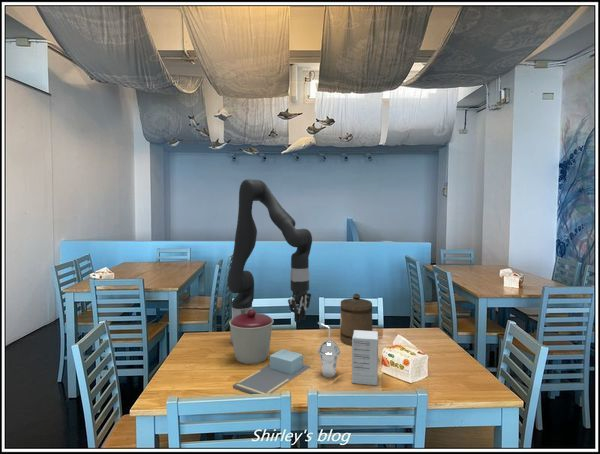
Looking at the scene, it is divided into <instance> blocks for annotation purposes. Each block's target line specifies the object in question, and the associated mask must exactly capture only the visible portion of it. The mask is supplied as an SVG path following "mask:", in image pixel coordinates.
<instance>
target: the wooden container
mask: <svg viewBox="0 0 600 454" xmlns="http://www.w3.org/2000/svg"><path fill="white" fill-rule="evenodd" d="M339 320H340V323H339V329H340V331H339V332H340V333H339V335H340V337H339V338H340V339H339V340H340V341H341V343H343V344H345V345H349V346H352V337H353V334H354V330H361V331H373V302H372V301H371V300H368V299H364V298H361V294H359V293H354V294H353V295H352V298H345V299H342V300H340V319H339Z"/></svg>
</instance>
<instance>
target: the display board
mask: <svg viewBox="0 0 600 454" xmlns="http://www.w3.org/2000/svg"><path fill="white" fill-rule="evenodd" d="M311 367H312V366H310V365H307V364H303V367H302V368H301V369H299V370H298V371H296V372H294V373H293V374H287V373H284V372H281V371H277V370H274V369H271V368H270V363H269V364H267V365H265V366H264V367H262V368H260V369H259V370H256V371H255V372H253V373H251V374H250V375H248V376H246V377H245V378H243V379H241V380H239V381H237V382H235V383H234V384H232V388H233V389H235V390H237V391H241V392H243V393H247V394H249V395H252V394H264V393H271V394H273V393H274V392H276V391H277V390H279V389H280V388H282V387H283V386H285V385H286V384H288V383H289V382H291V381H292V380H294V379H295V378H296V377H298V376H299V375H301V374H302V373H304V372H305V371H308V369H310V368H311Z"/></svg>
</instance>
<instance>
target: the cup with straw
mask: <svg viewBox="0 0 600 454" xmlns="http://www.w3.org/2000/svg"><path fill="white" fill-rule="evenodd" d="M317 324H318V325H320V326H322V327H325V328H326V329H328V339H327V340H324V341H323V342H322V343H321V345H320V346H319V347H318V349H317V354H319V357H320V363H321V365H320V366H321V372H322V373H321V374H322V376H323V377H325V378H333V377H335V376H336V371H337V366H338V365H337V363H338V360H339V355H340V354H341V349H340V348H339V346H338V344H337V343H336V342H335V341H333V340H331V327H330V326H329V325H326V324H324V323H322V322H320V321H318V322H317Z"/></svg>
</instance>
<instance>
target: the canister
mask: <svg viewBox="0 0 600 454" xmlns="http://www.w3.org/2000/svg"><path fill="white" fill-rule="evenodd" d="M228 324H229V326H231V331H232V338H233V344H232V346H233V352H234V355H235V359H236V361H237V362H239V363H241V364H245V365H253V364H254V365H255V364H260V363H263V362H265V361H266V360H267V359H268V357H269V356H270V355H269V353H270V347H271V337H272V331H273V330H272V328H273V327H272V326H273V324H274V319H273V318H272V317H271V316H269V315H267V314H264V313H258V312H256V310H255V309H252V310H249V311H248V312H247V314H241V315H238V316H236V317H234V318H233V319H232V318H231V319H230V320H229V321H228ZM231 331H230V332H231Z"/></svg>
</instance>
